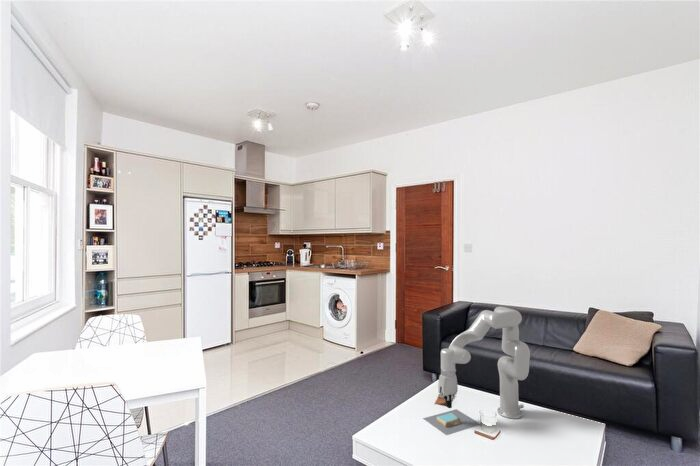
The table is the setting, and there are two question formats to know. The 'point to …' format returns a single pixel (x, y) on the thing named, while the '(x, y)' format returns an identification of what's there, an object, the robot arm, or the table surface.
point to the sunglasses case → (440, 401)
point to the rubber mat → (464, 424)
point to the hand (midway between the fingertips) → (448, 407)
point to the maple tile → (448, 420)
